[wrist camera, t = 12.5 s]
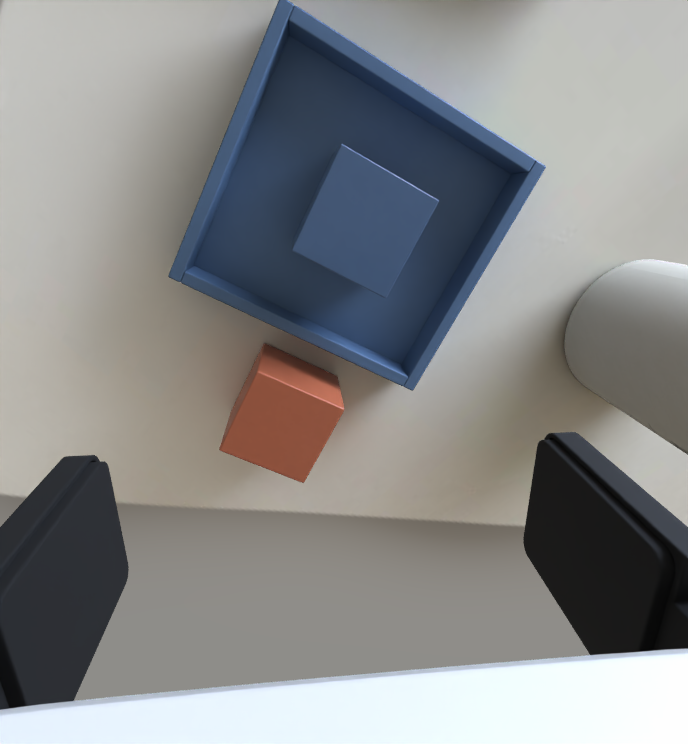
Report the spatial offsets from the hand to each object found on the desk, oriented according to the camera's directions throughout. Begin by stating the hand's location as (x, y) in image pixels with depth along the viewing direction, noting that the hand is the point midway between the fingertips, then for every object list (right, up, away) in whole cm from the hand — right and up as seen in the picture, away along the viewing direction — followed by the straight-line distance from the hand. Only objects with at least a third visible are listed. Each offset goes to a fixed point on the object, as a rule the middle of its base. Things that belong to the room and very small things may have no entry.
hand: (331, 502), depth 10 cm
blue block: (+1, +10, +13) cm, 17 cm away
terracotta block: (-3, +2, +17) cm, 17 cm away
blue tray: (+1, +11, +14) cm, 17 cm away
